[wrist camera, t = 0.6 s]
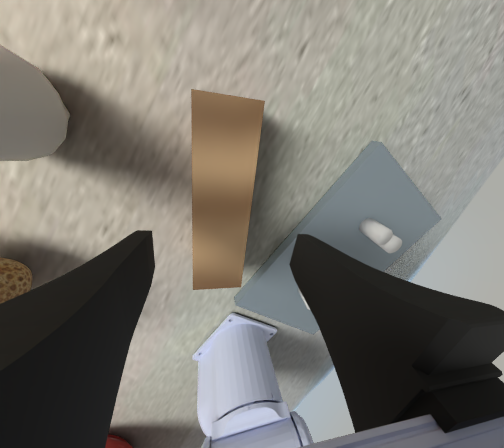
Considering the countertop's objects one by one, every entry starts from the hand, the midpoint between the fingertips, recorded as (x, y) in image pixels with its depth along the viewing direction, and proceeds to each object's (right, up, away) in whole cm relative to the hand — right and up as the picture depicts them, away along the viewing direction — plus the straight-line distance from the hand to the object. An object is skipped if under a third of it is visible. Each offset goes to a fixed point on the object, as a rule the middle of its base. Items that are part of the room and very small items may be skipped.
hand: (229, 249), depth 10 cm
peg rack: (+11, -3, +15) cm, 19 cm away
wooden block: (-2, +4, +8) cm, 10 cm away
